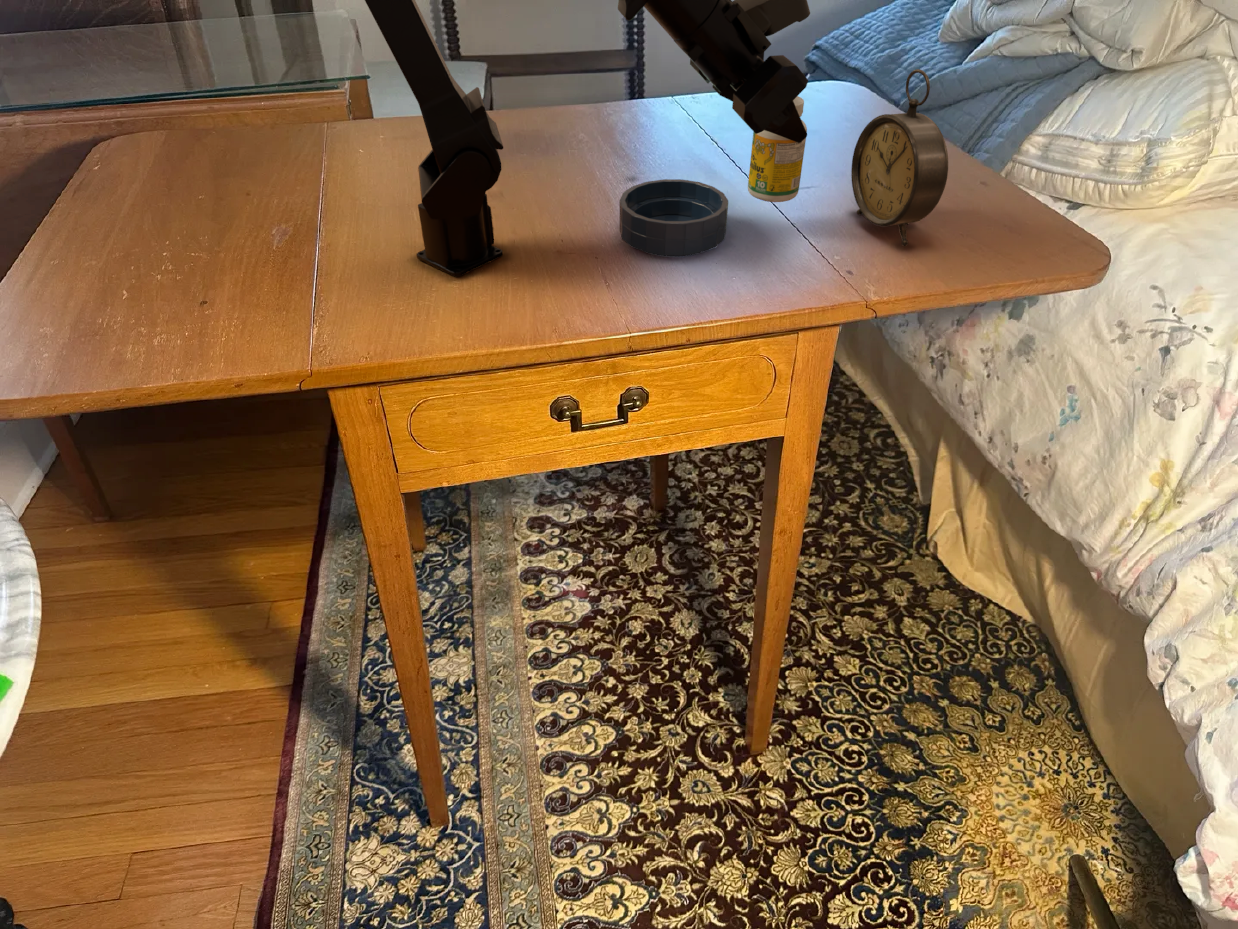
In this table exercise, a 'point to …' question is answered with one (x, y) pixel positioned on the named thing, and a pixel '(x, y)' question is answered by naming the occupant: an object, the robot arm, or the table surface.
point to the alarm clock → (899, 167)
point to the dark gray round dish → (673, 217)
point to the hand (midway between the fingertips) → (793, 129)
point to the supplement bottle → (776, 164)
